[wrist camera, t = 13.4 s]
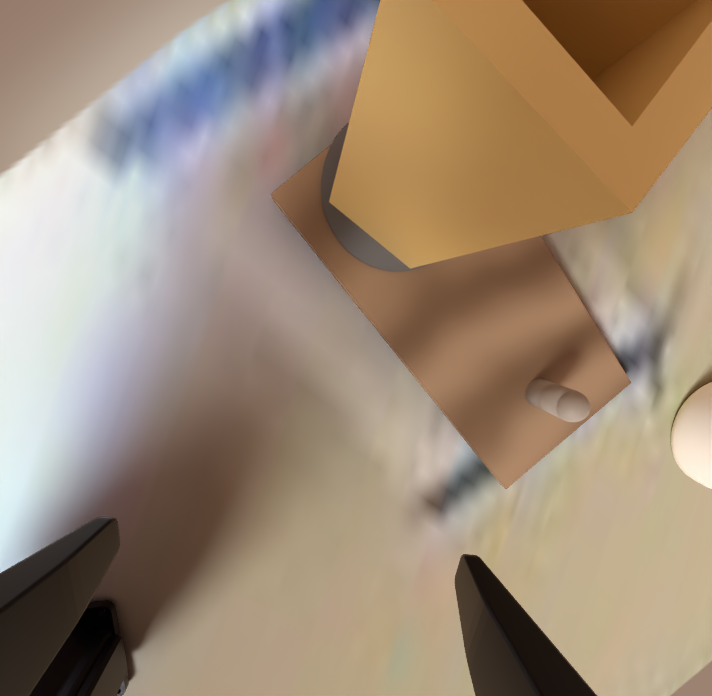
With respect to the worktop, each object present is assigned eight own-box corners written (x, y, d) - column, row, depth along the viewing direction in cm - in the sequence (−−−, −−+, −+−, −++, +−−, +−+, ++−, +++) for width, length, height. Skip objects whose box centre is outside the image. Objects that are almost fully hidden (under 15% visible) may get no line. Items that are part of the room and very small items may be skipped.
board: (620, 379, 23) (691, 398, 19) (498, 482, 23) (543, 525, 19) (425, 67, 18) (462, -3, 14) (269, 195, 18) (258, 164, 14)
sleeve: (410, 268, 19) (632, 212, 6) (329, 201, 18) (391, -43, 5) (470, 186, 19) (833, -53, 6) (392, 112, 17) (633, -389, 5)
